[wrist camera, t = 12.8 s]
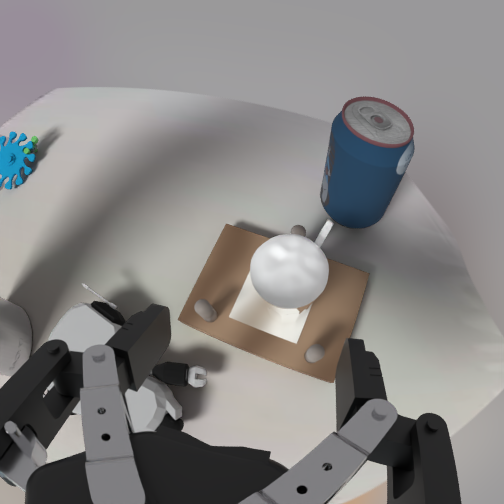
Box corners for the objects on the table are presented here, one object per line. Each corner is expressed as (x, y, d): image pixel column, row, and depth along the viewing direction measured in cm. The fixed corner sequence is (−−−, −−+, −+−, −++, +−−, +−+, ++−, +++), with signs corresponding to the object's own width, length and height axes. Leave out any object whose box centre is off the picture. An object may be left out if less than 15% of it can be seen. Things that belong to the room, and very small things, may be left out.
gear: (-3, 201, 34) (-22, 152, 31) (7, 202, 39) (-11, 158, 36) (47, 163, 38) (27, 115, 34) (53, 168, 43) (34, 125, 40)
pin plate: (182, 323, 26) (165, 311, 22) (231, 226, 30) (224, 200, 26) (330, 382, 23) (341, 382, 19) (366, 273, 27) (381, 253, 22)
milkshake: (331, 300, 24) (361, 248, 15) (283, 343, 23) (288, 316, 14) (294, 263, 26) (302, 195, 17) (247, 302, 25) (229, 252, 16)
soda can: (394, 216, 29) (437, 136, 18) (344, 246, 28) (378, 163, 17) (355, 171, 32) (378, 85, 21) (306, 194, 31) (315, 103, 20)
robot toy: (221, 368, 25) (97, 290, 28) (213, 367, 21) (75, 277, 24) (161, 471, 21) (49, 383, 24) (145, 486, 17) (22, 381, 20)
